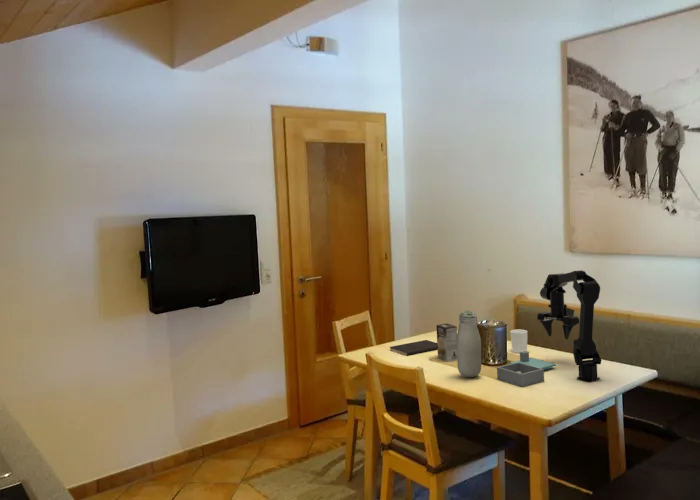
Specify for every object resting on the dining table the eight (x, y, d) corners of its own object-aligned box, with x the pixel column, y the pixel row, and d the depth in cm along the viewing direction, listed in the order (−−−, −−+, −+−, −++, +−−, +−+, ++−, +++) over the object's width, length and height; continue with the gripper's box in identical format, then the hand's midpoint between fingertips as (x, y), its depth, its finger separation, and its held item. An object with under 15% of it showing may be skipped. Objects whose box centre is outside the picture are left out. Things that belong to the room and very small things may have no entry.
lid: (556, 368, 260) (555, 354, 260) (534, 374, 254) (534, 360, 254) (531, 362, 273) (530, 348, 272) (510, 367, 267) (509, 353, 266)
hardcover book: (389, 351, 310) (389, 346, 310) (426, 344, 321) (426, 339, 321) (407, 357, 296) (407, 352, 296) (445, 349, 307) (444, 345, 307)
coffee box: (437, 357, 290) (435, 324, 289) (448, 355, 292) (447, 323, 291) (447, 362, 281) (445, 327, 280) (459, 360, 283) (457, 326, 282)
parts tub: (544, 381, 244) (543, 369, 243) (522, 387, 238) (521, 374, 237) (518, 373, 256) (518, 362, 255) (497, 379, 250) (496, 367, 250)
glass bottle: (464, 381, 250) (461, 314, 248) (454, 375, 260) (451, 310, 258) (486, 378, 252) (483, 311, 250) (475, 372, 262) (472, 308, 260)
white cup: (509, 353, 291) (508, 332, 290) (513, 349, 298) (512, 329, 297) (526, 354, 287) (525, 333, 286) (529, 350, 294) (528, 329, 293)
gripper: (587, 302, 260) (588, 338, 261) (553, 297, 276) (554, 331, 277) (569, 305, 254) (570, 342, 255) (535, 300, 271) (537, 335, 272)
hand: (558, 337), depth 265 cm, fingers open, 9 cm apart
